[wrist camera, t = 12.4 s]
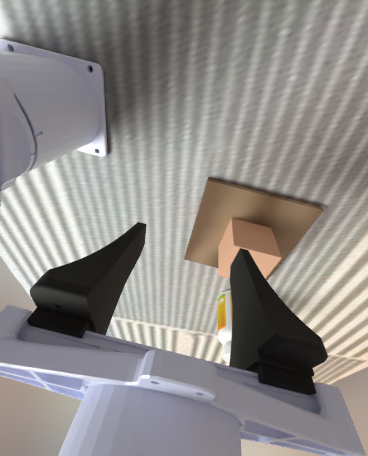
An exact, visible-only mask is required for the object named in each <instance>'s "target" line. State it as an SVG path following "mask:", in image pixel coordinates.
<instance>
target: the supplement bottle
mask: <svg viewBox="0 0 368 456" xmlns="http://www.w3.org/2000/svg"><path fill="white" fill-rule="evenodd" d="M218 338H219V341H220V342H221V343H222V344H223V345H224V346H223V359H224V360H225V361H226V362H228V363H230V353H231V338H232V298H231V290H226V291H224V292H222V293H221V294H220V295H219V297H218Z"/></svg>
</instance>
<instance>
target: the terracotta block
mask: <svg viewBox="0 0 368 456" xmlns="http://www.w3.org/2000/svg"><path fill="white" fill-rule="evenodd" d="M240 248H242V249H246V250H248V251H249V252H250V254H251V256H252V258H253V259H254V261H255V263H256V265H257V266H258V268H259V270H260V271H261V273H262V275H263V276H264V278H265V279H266V277H267V276H268V275H269V274H270V272H271V271H272V270H273V268H274V267H275V266H276V265H277V263H278V262H279V261H280V260H281V258H282V257H281V254H280V251H279V248H278V246H277V243H276V240H275V237H274V234H273V232H272V229H271V228H269V227H265V226H262V225H258V224H254V223H250V222H246V221H242V220H238V219H234V218H231V220H230V222H229V224H228V226H227V229H226V231H225V233H224V235H223V238H222V240H221V242H220V244H219V246H218V276H222V277H226V278H230V266H231V264H232V262H233V260H234V258H235V257H236V255H237V253H238V251H239V249H240Z"/></svg>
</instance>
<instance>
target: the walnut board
mask: <svg viewBox="0 0 368 456" xmlns="http://www.w3.org/2000/svg"><path fill="white" fill-rule="evenodd" d="M322 211H323V209H322V208H321V207H320V206H317V205H313V204H309V203H305V202H301V201H297V200H294V199H290V198H286V197H282V196H278V195H274V194H270V193H266V192H262V191H258V190H255V189H251V188H247V187H243V186H239V185H235V184H231V183H227V182H223V181H219V180H216V179H212V178H208V181H207V184H206V187H205V191H204V194H203V197H202V201H201V204H200V207H199V211H198V214H197V217H196V221H195V224H194V227H193V231H192V234H191V237H190V241H189V244H188V247H187V251H186V254H185V258H184V259H185V260H189V261H193V262H197V263H201V264H205V265H209V266H213V267H217V268H218V246H219V244H220V242H221V240H222V238H223V235H224V233H225V231H226V229H227V226H228V224H229V222H230V220H231V218H234V219H238V220H242V221H246V222H250V223H254V224H258V225H262V226H265V227H269V228H271V229H272V232H273V234H274V237H275V240H276V243H277V246H278V248H279V251H280V254H281V257H282V258H281V260H280V261H279V262H278V263H277V265H276V266H275V267H274V268H273V270H272V271H271V272H270V274H269V275H268V276H267V277H266V280H268V279H269V278H270V276H271V275H272V274H273V273H274V271H275V270H276V269H277V268H278V266H279V265H280V264H281V263H282V261H283V260H284V259H285V258H286V256H287V255H288V254H289V253H290V251H291V250H292V249H293V248H294V246H295V245H296V244H297V243H298V241H299V240H300V239H301V238H302V236H303V235H304V234H305V233H306V231H307V230H308V229H309V228H310V226H311V225H312V224H313V223H314V221H315V220H316V219H317V218H318V216H319V215H320V214H321V213H322Z"/></svg>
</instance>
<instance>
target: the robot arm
mask: <svg viewBox="0 0 368 456" xmlns="http://www.w3.org/2000/svg"><path fill="white" fill-rule="evenodd" d="M11 46H12V47H13V49H14V52H13V51H12V48H11ZM90 66H92V68H93V72H92V73H91V71H90V69H89V68H90ZM96 149H98V150H99V152H97V150H96ZM74 150H77V151H81V152H85V153H89V154H93V155H97V156H101V157H105V156H106V155H107V135H106V116H105V97H104V78H103V69H102V67H101V66H100V65H99V64H98V63H94V62H90V61H86V60H82V59H79V58H75V57H71V56H67V55H63V54H59V53H56V52H52V51H48V50H44V49H40V48H36V47H32V46H29V45H25V44H21V43H17V42H13V41H9V40H6V39H2V38H0V191H2V190H4V189H6V188H8V187H10V186H12V185H14V184H15V180H16V178H17V177H18V176H20V175H22V174H24V173H26V172H29V171H31V170H33V169H35V168H37V167H39V166H41V165H44V164H46V163H48V162H50V161H52V160H54V159H57V158H59V157H61V156H63V155H65V154H67V153H70V152H72V151H74ZM0 206H1V195H0ZM145 234H146V224H144V223H140V222H138V223H136V224H135V225H134V226H133V227H132V228H131V229H129V230H128V231H127V232H126V233H124V234H123V235H122V236H120V237H119V238H118V239H116V240H115V241H113V242H112V243H110V244H109V245H107V246H105V247H104V248H102V249H100V250H98V251H97V252H95V253H93V254H91V255H89V256H86V257H84V258H82V259H79V260H77V261H74V262H72V263H69V264H66V265H63V266H60V267H56V268H53V269H50V270H48V271H47V272H46V273H45V274H44V275H43V276H42V277H41V278H40V279H39V280H38V281H37V282H36V283H35V285H34V286H33V287H32V288H31V289H30V295H31V297H32V299H33V301H34V302H35V304H36V306H37V308H36V310H35V311H34V312H33V313H32V312H31V311H29V310H27V309H23V308H19V307H15V306H11V305H7V306H6V307H5V308H4V309H3V310H2V311H1V312H0V376H2V377H6V378H10V379H13V380H17V381H20V382H24V383H27V384H31V385H34V386H37V387H40V388H44V389H47V390H50V391H53V392H57V393H60V394H63V395H66V396H70V397H73V398H76V399H80V400H82V402H81V404H80V406H79V409H78V411H77V413H76V416H75V418H74V420H73V422H72V425H71V427H70V429H69V432H68V434H67V437H66V439H65V441H64V443H63V446H62V448H61V450H60V453H59V455H58V456H241V440H240V439H245V440H250V441H255V442H261V443H265V444H271V445H276V446H281V447H286V448H291V449H296V450H300V451H306V452H310V453H314V454H318V455H323V456H365V455H366V454H365V452H364V449H363V447H362V444H361V441H360V439H359V436H358V434H357V431H356V429H355V426H354V424H353V421H352V418H351V416H350V414H349V411H348V408H347V406H346V403H345V401H344V398H343V396H342V393H341V391H340V388H338V387H335V386H331V385H327V384H323V383H313V380H312V376H314V372H313V369H312V368H313V367H315V366H317V365H319V364H321V363H323V362H324V361H326V359H327V358H328V355H327V352H326V349H325V347H324V344H323V342H322V340H321V338H320V337H319V336H318V335H317V334H316V333H315V332H313V331H312V330H311V329H310V328H309V327H308V326H306V325H305V324H304V323H303V322H302V321H301V320H300V319H299V318H298V317H297V316H296V315H295V314H294V313H293V312H292V311H291V310H290V309H289V308H288V307H287V306H286V305H285V304H284V302H283V301H282V300H281V299H280V298H279V297H278V295H277V294H276V293H275V292H274V290H273V289H272V288H271V286H270V285H269V283H268V282H267V281H266V279H265V278H264V276H263V275H262V273H261V271H260V270H259V268H258V266H257V265H256V263H255V261H254V259H253V258H252V256H251V254H250V252H249V251H248V250H246V249H242V248H240V249H239V251H238V253H237V255H236V257H235V258H234V260H233V262H232V264H231V266H230V286H231V298H232V338H231V353H230V364H229V366H226V365H222V364H218V363H214V362H210V361H206V360H202V359H198V358H194V357H190V356H186V355H182V354H178V353H174V352H170V351H166V350H162V349H158V348H154V347H150V346H146V345H142V344H138V343H134V342H130V341H126V340H122V339H118V338H114V337H110V336H106V332H107V329H108V326H109V324H110V321H111V318H112V316H113V313H114V310H115V308H116V305H117V303H118V300H119V298H120V295H121V293H122V290H123V288H124V285H125V283H126V281H127V279H128V277H129V275H130V273H131V272H132V270H133V268H134V266H135V264H136V262H137V260H138V258H139V257H140V254H141V252H142V249H143V247H144V244H145Z"/></svg>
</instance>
